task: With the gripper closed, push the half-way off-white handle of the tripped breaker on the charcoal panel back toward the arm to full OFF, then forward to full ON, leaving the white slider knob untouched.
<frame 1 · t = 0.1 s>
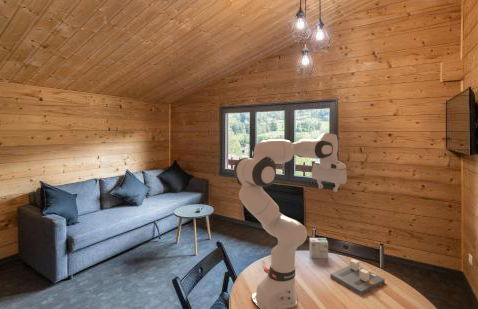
hand: (327, 189, 135), 48 cm above the table, fingers open, 8 cm apart
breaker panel: (357, 279, 135), on the table
breaker tripped: (364, 275, 131), point 5 cm above the table, slide at 5.0 cm
light bulb box: (318, 256, 161), on the table
white slider knob: (354, 264, 142), point 5 cm above the table, slide at 10.0 cm
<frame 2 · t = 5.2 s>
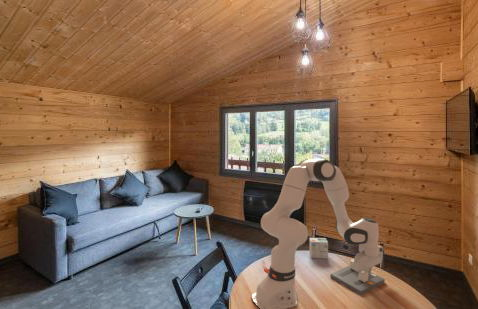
hand: (367, 274, 133), 4 cm above the table, fingers closed
breaker tripped: (363, 275, 131), point 5 cm above the table, slide at 4.2 cm, touching gripper
everything else where it was.
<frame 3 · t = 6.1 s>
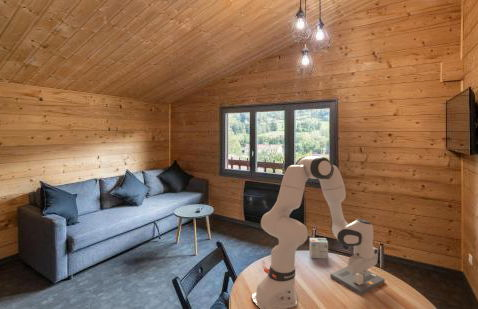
hand: (362, 277, 131), 4 cm above the table, fingers closed
breaker tripped: (358, 278, 129), point 5 cm above the table, slide at -0.1 cm, touching gripper
everything else where it was.
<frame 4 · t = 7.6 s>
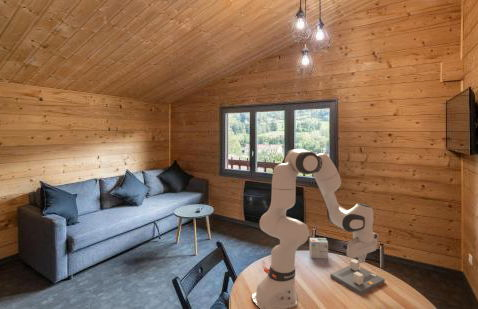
hand: (361, 262, 129), 12 cm above the table, fingers closed
breaker tripped: (358, 278, 129), point 5 cm above the table, slide at -0.1 cm
everything else where it was.
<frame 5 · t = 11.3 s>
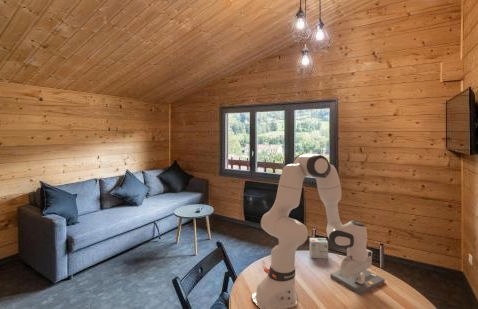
hand: (355, 280, 128), 4 cm above the table, fingers closed
breaker tripped: (359, 277, 129), point 5 cm above the table, slide at 1.2 cm, touching gripper
everything else where it was.
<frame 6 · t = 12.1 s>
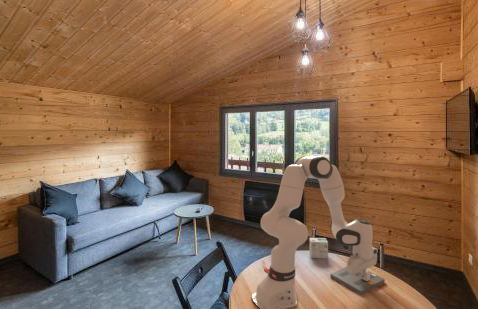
hand: (361, 277, 130), 4 cm above the table, fingers closed
breaker tripped: (365, 274, 132), point 5 cm above the table, slide at 5.9 cm, touching gripper
everything else where it was.
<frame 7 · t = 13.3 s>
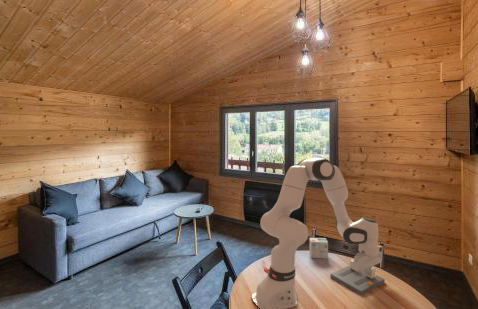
hand: (367, 274, 133), 4 cm above the table, fingers closed
breaker tripped: (370, 272, 134), point 5 cm above the table, slide at 10.4 cm, touching gripper
everything else where it was.
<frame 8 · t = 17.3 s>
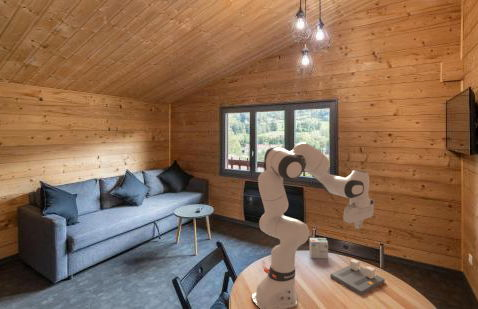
hand: (358, 227, 131), 29 cm above the table, fingers closed
breaker tripped: (370, 272, 134), point 5 cm above the table, slide at 10.1 cm
everything else where it was.
at the end: breaker tripped slide at 10.1 cm; white slider knob slide at 10.0 cm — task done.
